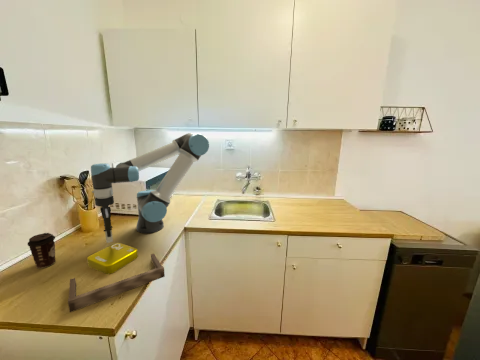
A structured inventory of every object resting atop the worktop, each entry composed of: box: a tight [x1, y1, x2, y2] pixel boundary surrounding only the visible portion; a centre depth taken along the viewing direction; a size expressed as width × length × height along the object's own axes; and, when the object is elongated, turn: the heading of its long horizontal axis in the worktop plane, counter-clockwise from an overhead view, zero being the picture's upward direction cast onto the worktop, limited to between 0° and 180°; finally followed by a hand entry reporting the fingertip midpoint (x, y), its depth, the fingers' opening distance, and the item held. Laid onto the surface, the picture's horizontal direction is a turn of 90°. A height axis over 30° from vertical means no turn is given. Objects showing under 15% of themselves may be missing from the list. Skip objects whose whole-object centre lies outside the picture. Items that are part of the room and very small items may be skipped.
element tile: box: [86, 242, 139, 275], centre depth 95 cm, size 15×15×5 cm
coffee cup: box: [27, 232, 56, 269], centre depth 91 cm, size 9×8×13 cm
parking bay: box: [67, 253, 165, 313], centre depth 82 cm, size 30×14×4 cm, turn 126°
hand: (109, 241), depth 106 cm, fingers closed
